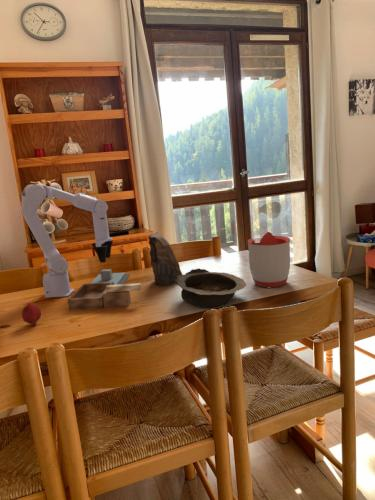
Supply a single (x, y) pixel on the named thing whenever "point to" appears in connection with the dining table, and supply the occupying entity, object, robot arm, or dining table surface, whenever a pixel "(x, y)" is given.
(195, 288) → the stone bowl
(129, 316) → the dining table surface
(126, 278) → the mat
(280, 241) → the citrus juicer
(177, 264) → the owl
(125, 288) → the beige rectangular bar
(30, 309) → the onion
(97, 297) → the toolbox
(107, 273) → the lid
